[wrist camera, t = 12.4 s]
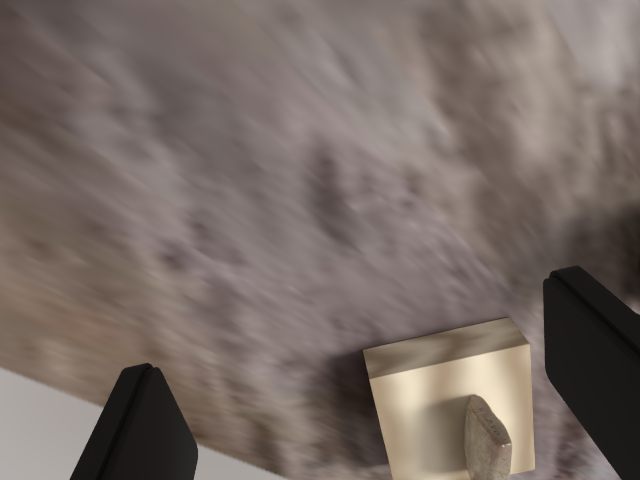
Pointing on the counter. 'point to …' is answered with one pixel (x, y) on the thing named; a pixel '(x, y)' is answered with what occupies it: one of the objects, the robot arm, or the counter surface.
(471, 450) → the stone tablet
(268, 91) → the counter surface
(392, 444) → the birch block
